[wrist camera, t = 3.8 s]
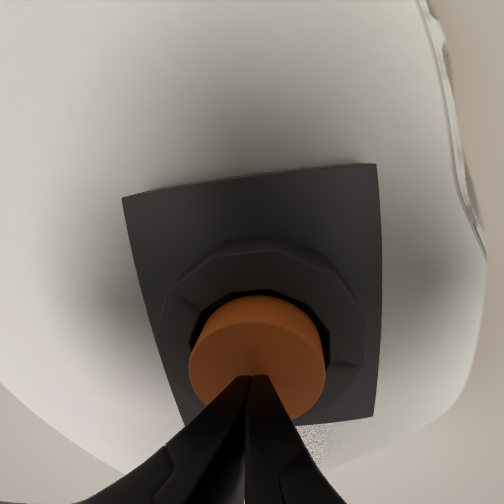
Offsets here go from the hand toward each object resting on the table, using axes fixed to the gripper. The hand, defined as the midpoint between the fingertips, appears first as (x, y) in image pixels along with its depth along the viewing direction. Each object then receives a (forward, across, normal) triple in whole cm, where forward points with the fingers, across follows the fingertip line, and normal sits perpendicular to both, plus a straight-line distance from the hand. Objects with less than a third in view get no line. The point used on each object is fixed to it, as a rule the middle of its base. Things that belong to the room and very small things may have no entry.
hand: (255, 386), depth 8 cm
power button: (+2, 0, 0) cm, 2 cm away
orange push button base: (+6, 0, 0) cm, 6 cm away
